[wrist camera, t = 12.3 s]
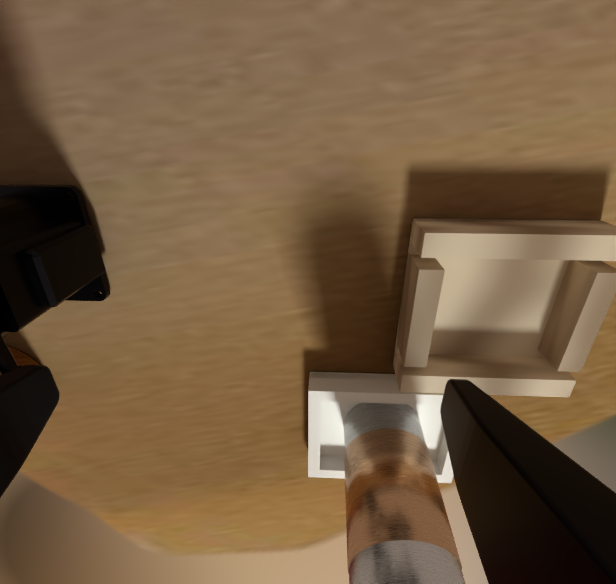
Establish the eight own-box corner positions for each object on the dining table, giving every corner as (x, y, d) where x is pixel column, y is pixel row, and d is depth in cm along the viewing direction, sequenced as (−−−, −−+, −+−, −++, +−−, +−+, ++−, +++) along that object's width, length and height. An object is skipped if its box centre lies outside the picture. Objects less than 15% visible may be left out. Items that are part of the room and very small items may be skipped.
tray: (309, 454, 26) (308, 476, 25) (309, 371, 23) (308, 390, 21) (443, 460, 26) (451, 483, 24) (465, 376, 22) (476, 396, 21)
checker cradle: (392, 364, 22) (400, 391, 20) (412, 218, 18) (424, 232, 16) (544, 368, 22) (569, 397, 20) (601, 220, 18) (640, 235, 15)
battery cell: (330, 436, 25) (328, 738, 13) (366, 386, 22) (405, 698, 10) (394, 460, 25) (448, 768, 13) (436, 414, 23) (545, 736, 11)
